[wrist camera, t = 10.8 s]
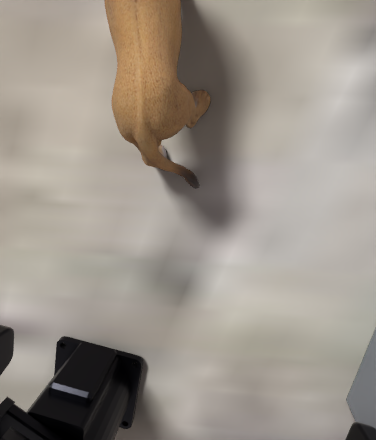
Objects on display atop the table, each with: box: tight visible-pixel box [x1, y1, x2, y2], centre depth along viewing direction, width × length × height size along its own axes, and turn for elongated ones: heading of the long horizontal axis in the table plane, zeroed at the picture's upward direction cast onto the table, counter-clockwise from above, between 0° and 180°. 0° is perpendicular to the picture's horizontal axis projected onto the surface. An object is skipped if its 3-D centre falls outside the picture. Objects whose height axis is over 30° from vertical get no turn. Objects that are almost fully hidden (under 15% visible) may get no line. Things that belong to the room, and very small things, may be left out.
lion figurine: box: [105, 0, 210, 188], centre depth 13 cm, size 15×5×9 cm, turn 16°
